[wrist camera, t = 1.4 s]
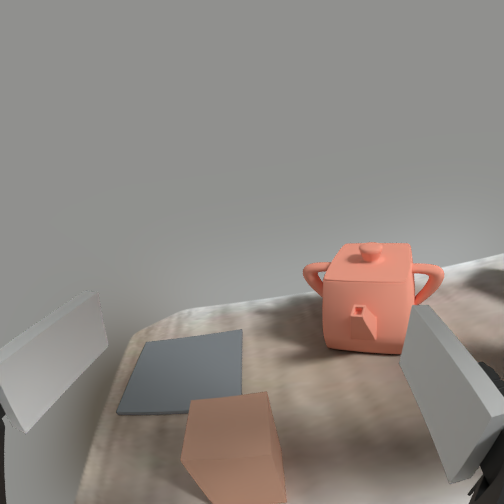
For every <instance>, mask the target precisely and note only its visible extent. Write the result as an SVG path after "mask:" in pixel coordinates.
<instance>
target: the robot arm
mask: <svg viewBox="0 0 504 504" xmlns="http://www.w3.org/2000/svg"><path fill="white" fill-rule="evenodd" d="M108 346H109V343H108V339H107V335H106V330H105V326H104V321H103V316H102V311H101V306H100V300H99V294H98V292H94V291H84V292H82V293H81V294H79V295H77V296H76V297H74V298H73V299H71V300H70V301H68V302H67V303H65V304H64V305H62V306H61V307H59V308H58V309H56V310H55V311H53V312H52V313H50V314H49V315H47V316H46V317H44V318H43V319H42V320H40V321H39V322H37V323H36V324H34V325H33V326H31V327H30V328H29V329H27V330H26V331H24V332H23V333H21V334H20V335H18V336H17V337H16V338H14V339H13V340H11V341H10V342H9V343H7V344H6V345H4V346H3V347H2V348H0V504H6V496H5V479H4V435H5V425H4V422H3V420H2V419H1V418H2V417H3V416H4V415H5V414H6V416H7V417H8V419H9V421H10V423H11V425H12V427H14V428H16V429H18V430H19V431H21V432H23V433H25V434H26V433H27V432H28V431H29V430H30V429H31V428H32V427H33V426H34V425H35V423H36V422H37V421H38V420H39V419H40V418H41V417H42V416H43V414H45V412H46V411H47V410H48V409H49V408H50V407H51V406H52V405H53V404H54V403H55V402H56V401H57V400H58V398H59V397H60V396H61V395H62V394H63V393H64V392H65V391H66V390H67V389H68V388H69V387H70V386H71V385H72V384H73V383H74V381H75V380H76V379H77V378H78V377H79V376H80V375H81V374H82V373H83V372H84V371H85V370H86V369H87V368H88V367H89V366H90V365H91V364H92V363H93V362H94V360H96V358H97V357H98V356H99V355H100V354H101V353H102V352H103V351H104V350H105V349H106V348H107V347H108ZM399 364H400V366H401V369H402V371H403V373H404V375H405V377H406V379H407V381H408V384H409V386H410V388H411V390H412V392H413V395H414V397H415V399H416V401H417V404H418V406H419V408H420V411H421V413H422V415H423V417H424V420H425V422H426V425H427V427H428V429H429V432H430V434H431V437H432V439H433V442H434V444H435V447H436V449H437V452H438V454H439V457H440V459H441V462H442V465H443V467H444V470H445V473H446V476H447V478H448V481H449V484H452V483H456V482H459V481H463V480H466V479H469V478H471V477H472V476H473V474H474V473H475V471H476V470H477V469H478V467H479V466H480V467H481V469H482V471H483V475H482V476H481V478H480V479H479V480H478V481H477V483H476V484H475V485H474V487H473V488H472V489H471V490H470V492H469V493H468V494H467V495H469V496H470V495H471V494H472V493H473V492H474V493H473V495H472V498H471V500H470V502H469V504H504V382H503V381H502V380H500V377H499V376H498V374H497V373H496V372H495V371H494V370H493V369H492V368H491V367H489V366H488V365H486V364H485V363H483V362H478V363H477V361H476V360H475V359H474V358H473V356H472V355H471V354H470V353H469V352H468V350H467V349H466V348H465V347H464V345H463V344H462V343H461V342H460V341H459V339H458V338H457V337H456V336H455V335H454V334H453V332H452V331H451V330H450V329H449V328H448V327H447V325H446V324H445V323H444V322H443V321H442V320H441V318H440V317H439V316H438V315H437V314H436V313H435V312H434V311H433V309H432V308H431V307H430V306H429V305H412V307H411V312H410V317H409V322H408V327H407V332H406V336H405V341H404V345H403V349H402V353H401V358H400V361H399Z"/></svg>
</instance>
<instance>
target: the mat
mask: <svg viewBox="0 0 504 504" xmlns="http://www.w3.org/2000/svg"><path fill="white" fill-rule="evenodd" d="M242 333H243V332H242V329H240V330H234V331H227V332H221V333H214V334H207V335H200V336H193V337H185V338H177V339H169V340H160V341H152V342H146V344H145V346H144V348H143V350H142V353H141V355H140V357H139V359H138V362H137V364H136V366H135V368H134V371H133V373H132V375H131V378H130V380H129V382H128V385H127V387H126V389H125V392H124V394H123V397H122V399H121V401H120V404H119V406H118V409H117V411H116V412H117V414H118V415H160V414H183V413H189V408H190V403H191V400H200V399H211V398H221V397H229V396H238V395H242Z"/></svg>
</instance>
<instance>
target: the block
mask: <svg viewBox="0 0 504 504" xmlns="http://www.w3.org/2000/svg"><path fill="white" fill-rule="evenodd" d="M180 461H181V462H182V464H183V465H184V467H185V468H186V469H187V471H188V472H189V474H190V475H191V476H192V478H193V479H194V480H195V482H196V483H197V484H198V486H199V487H200V488H201V490H202V491H203V492H204V494H205V495H206V496H207V497H208V499H209V500H210V501H211V502H212V504H277V503H285V502H287V500H286V490H285V480H284V470H283V460H282V450H281V446H280V442H279V438H278V434H277V430H276V427H275V423H274V419H273V415H272V411H271V407H270V403H269V398H268V394H267V391H266V392H260V393H253V394H245V395H238V396H229V397H221V398H211V399H200V400H191V403H190V408H189V414H188V419H187V425H186V430H185V436H184V442H183V447H182V453H181V459H180Z"/></svg>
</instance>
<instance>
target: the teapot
mask: <svg viewBox="0 0 504 504" xmlns="http://www.w3.org/2000/svg"><path fill="white" fill-rule="evenodd" d="M322 271H327V272H326V274H325V276H324V279H323V282H322V281H321V279H320V278H319V276H318V272H322ZM414 273H421V274H426V275H429V279H428V281H427V283H426V285H425V286H424V287H423V289H422V290H421V291H420V292H419V293H418V294H417V295H416V296H415V282H414ZM303 276H304V278H305V280H306V281H307V283H308V284H309V285H310V286H311V287H312V288H313V289H314V290H315V291H316V292H317V293H318V294H319V295H320V296H321V297H323V304H322V316H323V334H324V339H325V342H326V345H327V347H328V348H332V349H340V350H349V351H358V352H370V353H384V354H401V353H402V349H403V345H404V341H405V336H406V332H407V327H408V322H409V317H410V312H411V307H412V305H419V304H421V303H422V302H423V301H424V300H426V299H427V298H428V297H429V296H431V295H432V294H433V293H434V292H435V291H436V290H437V289H438V288H439V286H440V285H441V283H442V281H443V279H444V271H443V269H442V268H440V267H439V266H436V265H432V264H413V260H412V252H411V246H410V245H409V244H407V243H406V244H405V243H375V242H370V243H356V244H345V245H344V246H343V247H342V248H341V249H340V250H339V252H338V253H337V255H336V256H335V257H334V259H333V261H332V262H319V263H312V264H309V265H307V266H306V267H305V268H304V269H303Z"/></svg>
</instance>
